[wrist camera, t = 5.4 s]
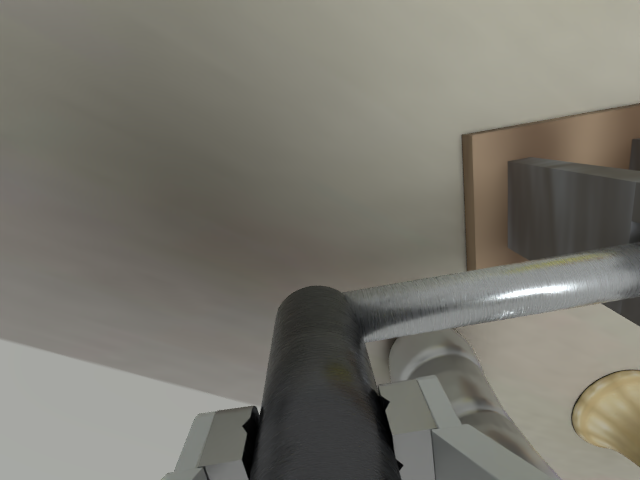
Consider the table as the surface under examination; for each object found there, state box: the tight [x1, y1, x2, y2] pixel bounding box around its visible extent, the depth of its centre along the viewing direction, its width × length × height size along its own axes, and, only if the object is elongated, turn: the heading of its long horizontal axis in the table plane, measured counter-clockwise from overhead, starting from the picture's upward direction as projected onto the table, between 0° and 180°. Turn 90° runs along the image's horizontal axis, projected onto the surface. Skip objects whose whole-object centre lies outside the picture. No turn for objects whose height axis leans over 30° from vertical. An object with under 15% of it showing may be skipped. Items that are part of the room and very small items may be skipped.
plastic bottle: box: [389, 328, 562, 480], centre depth 19 cm, size 6×7×20 cm
